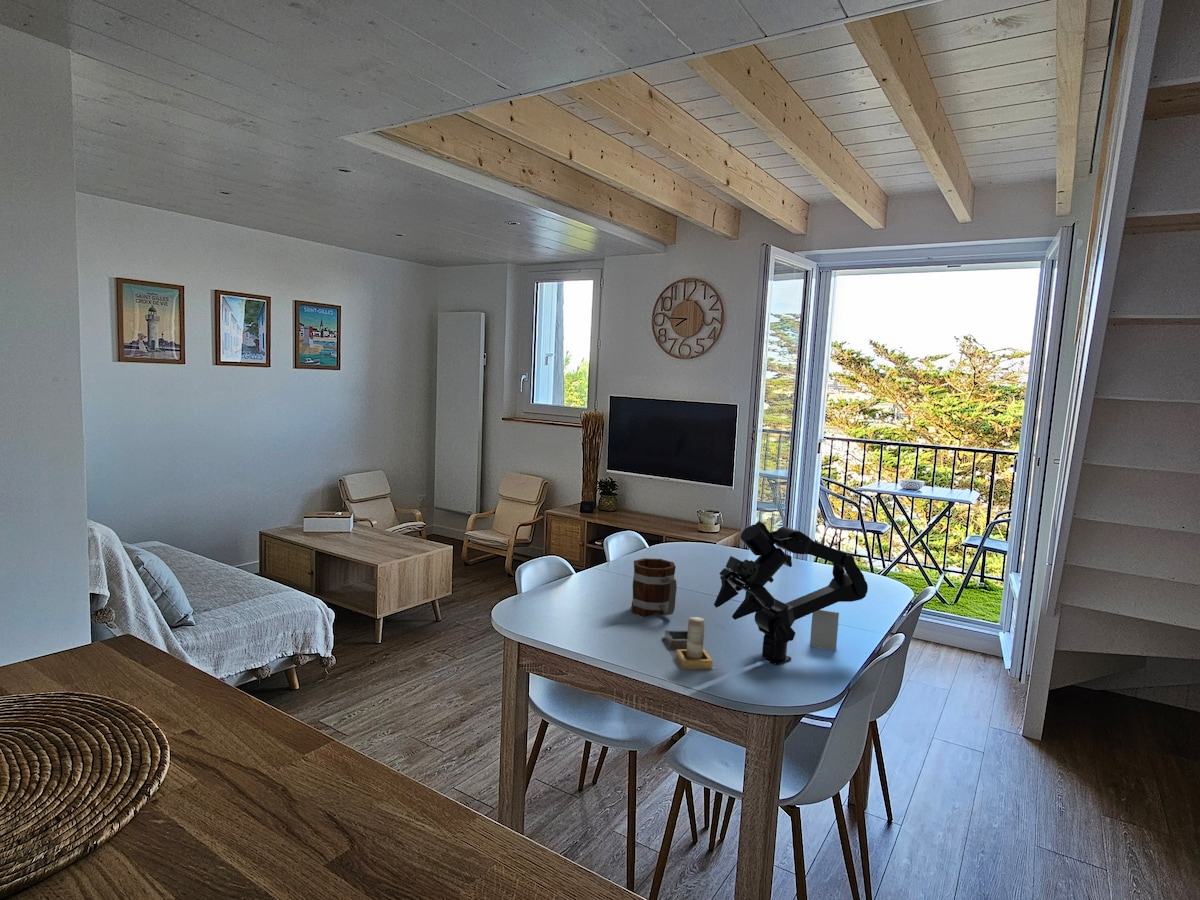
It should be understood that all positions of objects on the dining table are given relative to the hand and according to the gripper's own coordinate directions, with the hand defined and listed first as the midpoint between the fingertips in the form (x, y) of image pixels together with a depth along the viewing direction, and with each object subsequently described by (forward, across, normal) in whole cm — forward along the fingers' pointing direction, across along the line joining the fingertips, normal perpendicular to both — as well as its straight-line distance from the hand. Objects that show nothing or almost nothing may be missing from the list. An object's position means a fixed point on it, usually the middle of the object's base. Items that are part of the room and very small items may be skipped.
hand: (723, 612), depth 174 cm
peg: (+14, 0, +3) cm, 15 cm away
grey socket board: (+14, -6, +5) cm, 16 cm away
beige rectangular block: (-15, -5, +34) cm, 37 cm away
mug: (+10, -39, +9) cm, 41 cm away
